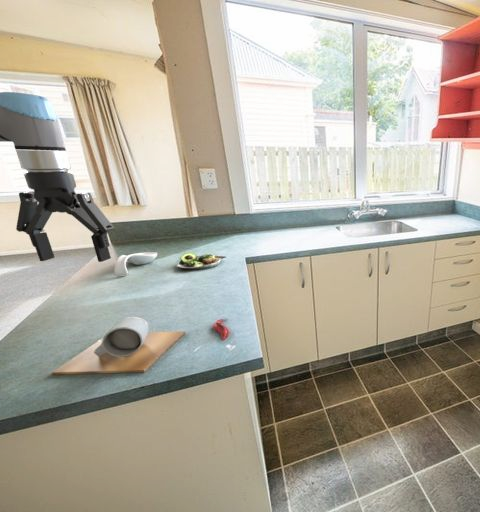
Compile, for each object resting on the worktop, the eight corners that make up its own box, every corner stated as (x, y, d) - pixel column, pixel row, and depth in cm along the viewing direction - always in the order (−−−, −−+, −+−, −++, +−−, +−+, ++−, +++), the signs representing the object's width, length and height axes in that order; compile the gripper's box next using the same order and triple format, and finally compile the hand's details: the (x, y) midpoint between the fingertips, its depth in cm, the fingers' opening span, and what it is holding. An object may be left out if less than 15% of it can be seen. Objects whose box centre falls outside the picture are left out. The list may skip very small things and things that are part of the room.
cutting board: (52, 374, 66) (51, 372, 66) (111, 334, 81) (110, 332, 81) (144, 372, 67) (144, 370, 67) (185, 333, 82) (185, 331, 82)
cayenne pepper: (214, 321, 89) (213, 315, 88) (231, 318, 90) (230, 312, 90) (208, 343, 78) (207, 336, 77) (228, 339, 80) (227, 333, 79)
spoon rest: (135, 259, 142) (131, 245, 139) (163, 257, 144) (159, 243, 142) (105, 277, 120) (100, 261, 118) (139, 275, 123) (134, 258, 121)
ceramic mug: (153, 335, 80) (146, 310, 78) (146, 352, 73) (137, 325, 71) (103, 346, 76) (93, 319, 73) (90, 365, 69) (78, 336, 66)
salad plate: (227, 255, 149) (226, 246, 147) (227, 266, 134) (225, 256, 132) (182, 260, 141) (180, 251, 139) (176, 273, 125) (173, 262, 124)
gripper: (119, 171, 71) (139, 255, 77) (9, 168, 70) (39, 254, 76) (90, 172, 64) (115, 265, 70) (-32, 169, 62) (5, 264, 69)
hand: (76, 259), depth 73 cm, fingers open, 13 cm apart
